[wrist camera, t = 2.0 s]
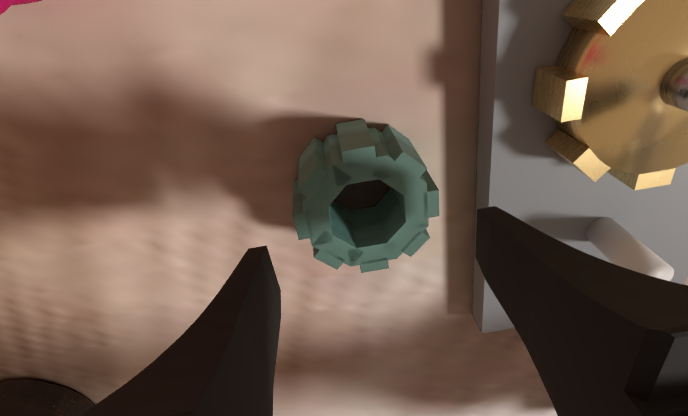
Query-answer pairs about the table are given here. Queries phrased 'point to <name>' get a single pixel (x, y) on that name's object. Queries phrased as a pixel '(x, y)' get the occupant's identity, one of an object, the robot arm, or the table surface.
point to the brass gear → (620, 90)
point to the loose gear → (372, 222)
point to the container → (40, 399)
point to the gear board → (558, 164)
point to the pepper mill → (13, 3)
